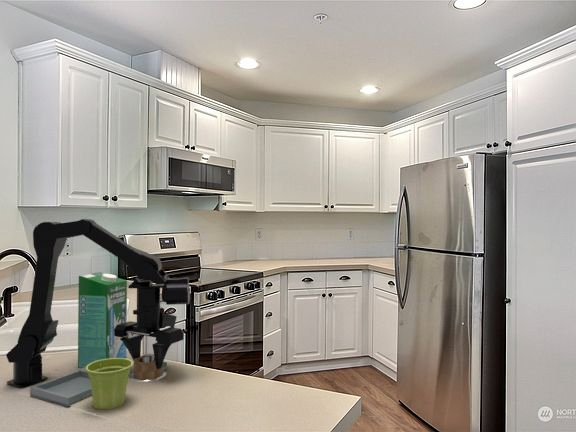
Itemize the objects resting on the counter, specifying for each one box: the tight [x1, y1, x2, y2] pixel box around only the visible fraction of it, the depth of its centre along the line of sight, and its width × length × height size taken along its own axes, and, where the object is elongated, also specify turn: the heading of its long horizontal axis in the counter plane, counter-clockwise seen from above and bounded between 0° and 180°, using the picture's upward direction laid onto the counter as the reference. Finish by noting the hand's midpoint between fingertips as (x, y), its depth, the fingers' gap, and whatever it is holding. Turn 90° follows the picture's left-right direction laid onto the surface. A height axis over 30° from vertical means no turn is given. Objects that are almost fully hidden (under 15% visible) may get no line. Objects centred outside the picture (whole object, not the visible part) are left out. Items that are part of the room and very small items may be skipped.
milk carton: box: [77, 271, 128, 368], centre depth 117 cm, size 9×9×25 cm
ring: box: [133, 355, 168, 381], centre depth 108 cm, size 7×9×4 cm
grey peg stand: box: [128, 353, 167, 383], centre depth 107 cm, size 9×9×5 cm
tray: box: [29, 369, 92, 408], centre depth 98 cm, size 13×13×2 cm
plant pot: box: [85, 357, 134, 410], centre depth 91 cm, size 9×9×9 cm
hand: (148, 366), depth 107 cm, fingers open, 7 cm apart
